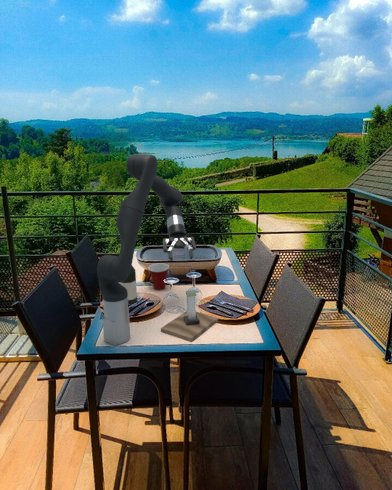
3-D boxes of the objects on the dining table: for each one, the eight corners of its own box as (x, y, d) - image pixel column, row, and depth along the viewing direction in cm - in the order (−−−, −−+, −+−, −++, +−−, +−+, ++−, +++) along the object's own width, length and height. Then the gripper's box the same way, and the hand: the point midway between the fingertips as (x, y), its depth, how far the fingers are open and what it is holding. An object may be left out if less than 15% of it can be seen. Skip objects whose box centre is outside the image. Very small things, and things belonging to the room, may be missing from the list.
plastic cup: (146, 291, 186) (145, 269, 183) (152, 283, 196) (151, 262, 193) (167, 292, 184) (166, 270, 181) (172, 284, 194) (171, 263, 191)
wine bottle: (134, 309, 166) (130, 246, 158) (117, 308, 167) (112, 245, 159) (140, 302, 174) (137, 241, 166) (124, 300, 175) (119, 240, 167)
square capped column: (199, 323, 148) (199, 294, 145) (186, 325, 147) (185, 295, 144) (196, 317, 154) (196, 289, 150) (183, 319, 152) (182, 290, 149)
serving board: (191, 341, 138) (191, 338, 137) (160, 331, 146) (160, 328, 145) (218, 320, 154) (218, 317, 153) (188, 312, 162) (188, 309, 161)
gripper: (161, 223, 160) (165, 256, 152) (192, 222, 163) (199, 253, 155) (159, 233, 166) (164, 264, 158) (190, 231, 169) (196, 261, 161)
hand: (181, 259), depth 156 cm, fingers open, 8 cm apart
